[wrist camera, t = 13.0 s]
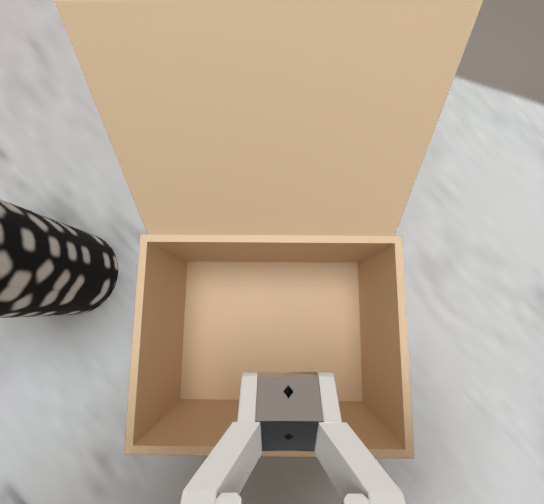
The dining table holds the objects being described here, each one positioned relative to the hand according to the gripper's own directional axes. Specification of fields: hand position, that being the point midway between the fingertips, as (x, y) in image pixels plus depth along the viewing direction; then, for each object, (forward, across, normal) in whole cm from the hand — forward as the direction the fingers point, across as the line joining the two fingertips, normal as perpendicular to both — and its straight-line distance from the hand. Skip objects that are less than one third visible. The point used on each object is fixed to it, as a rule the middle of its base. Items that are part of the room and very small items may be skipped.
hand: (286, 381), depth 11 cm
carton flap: (+11, -1, +4) cm, 12 cm away
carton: (+15, -1, -15) cm, 21 cm away
